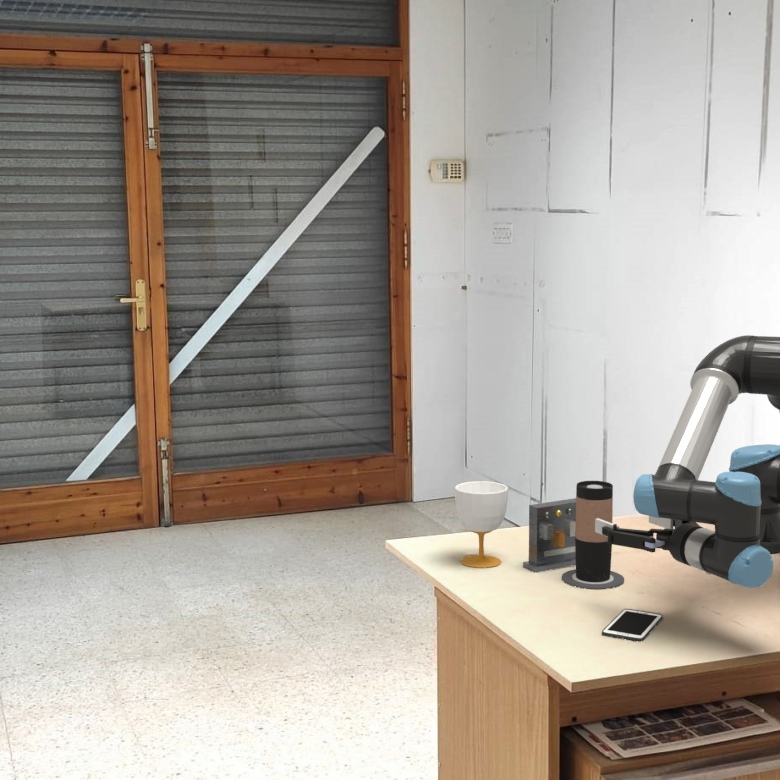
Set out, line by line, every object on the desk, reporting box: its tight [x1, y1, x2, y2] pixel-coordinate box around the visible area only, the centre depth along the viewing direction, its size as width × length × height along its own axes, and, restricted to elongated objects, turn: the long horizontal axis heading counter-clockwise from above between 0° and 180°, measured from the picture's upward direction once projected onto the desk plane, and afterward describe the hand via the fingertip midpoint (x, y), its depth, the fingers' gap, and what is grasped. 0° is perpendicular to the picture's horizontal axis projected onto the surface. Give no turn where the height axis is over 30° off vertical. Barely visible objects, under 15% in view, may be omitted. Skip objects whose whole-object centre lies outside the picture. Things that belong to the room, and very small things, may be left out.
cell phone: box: [601, 608, 664, 643], centre depth 210 cm, size 8×15×1 cm, turn 151°
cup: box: [454, 480, 509, 569], centre depth 249 cm, size 12×12×17 cm
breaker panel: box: [522, 497, 576, 573], centre depth 246 cm, size 16×5×14 cm, turn 118°
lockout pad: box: [561, 568, 625, 590], centre depth 237 cm, size 13×13×1 cm
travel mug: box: [575, 480, 614, 582], centre depth 236 cm, size 8×8×20 cm
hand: (623, 520), depth 226 cm, fingers open, 13 cm apart
